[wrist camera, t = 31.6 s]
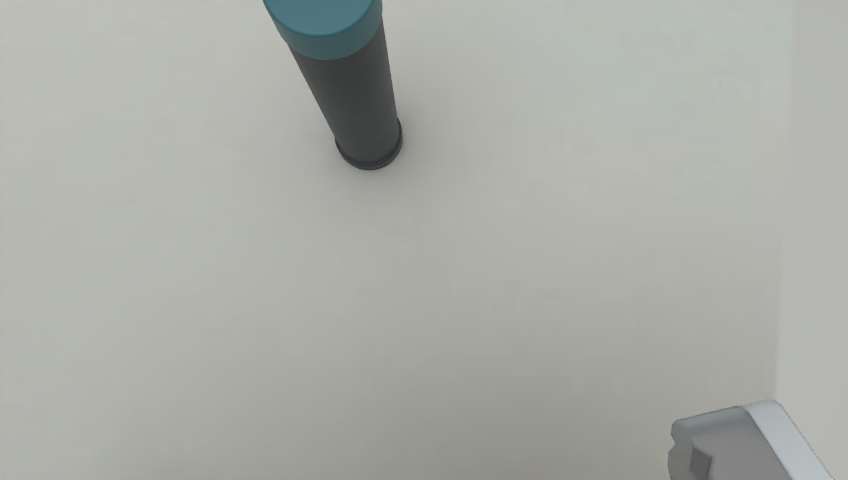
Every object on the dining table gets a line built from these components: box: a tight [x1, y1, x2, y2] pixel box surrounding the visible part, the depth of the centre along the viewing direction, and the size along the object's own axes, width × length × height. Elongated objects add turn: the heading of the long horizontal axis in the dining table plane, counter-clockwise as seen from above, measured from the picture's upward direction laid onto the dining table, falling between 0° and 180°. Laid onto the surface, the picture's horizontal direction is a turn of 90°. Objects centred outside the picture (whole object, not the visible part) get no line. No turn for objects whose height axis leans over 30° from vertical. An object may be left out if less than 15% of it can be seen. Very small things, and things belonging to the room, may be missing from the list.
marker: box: [263, 0, 402, 170], centre depth 21 cm, size 3×3×13 cm
